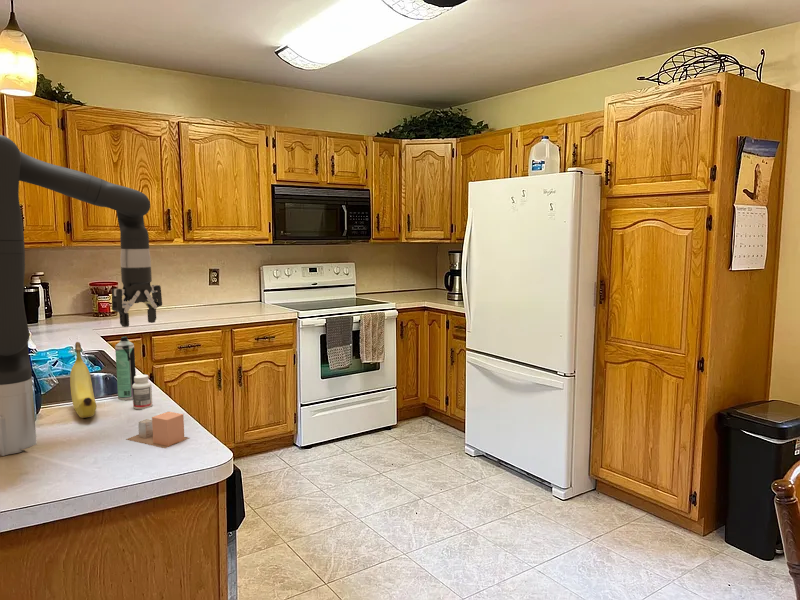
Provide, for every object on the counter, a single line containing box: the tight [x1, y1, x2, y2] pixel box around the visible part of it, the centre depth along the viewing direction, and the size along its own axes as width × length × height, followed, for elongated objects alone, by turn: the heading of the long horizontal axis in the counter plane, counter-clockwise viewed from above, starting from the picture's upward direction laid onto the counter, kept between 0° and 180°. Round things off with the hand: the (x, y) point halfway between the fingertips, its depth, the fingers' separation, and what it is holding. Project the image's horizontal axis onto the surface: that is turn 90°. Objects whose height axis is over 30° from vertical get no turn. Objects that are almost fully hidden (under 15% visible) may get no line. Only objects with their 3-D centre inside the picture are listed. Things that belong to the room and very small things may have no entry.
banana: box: [69, 341, 97, 419], centre depth 170 cm, size 23×6×20 cm, turn 34°
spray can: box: [114, 336, 137, 401], centre depth 187 cm, size 6×6×20 cm
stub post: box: [137, 418, 153, 438], centre depth 150 cm, size 3×3×4 cm
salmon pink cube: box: [151, 411, 185, 447], centre depth 146 cm, size 5×5×7 cm
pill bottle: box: [132, 374, 153, 410], centre depth 177 cm, size 5×5×10 cm
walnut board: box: [125, 433, 190, 449], centre depth 149 cm, size 8×14×1 cm, turn 64°
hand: (138, 324), depth 160 cm, fingers open, 8 cm apart
